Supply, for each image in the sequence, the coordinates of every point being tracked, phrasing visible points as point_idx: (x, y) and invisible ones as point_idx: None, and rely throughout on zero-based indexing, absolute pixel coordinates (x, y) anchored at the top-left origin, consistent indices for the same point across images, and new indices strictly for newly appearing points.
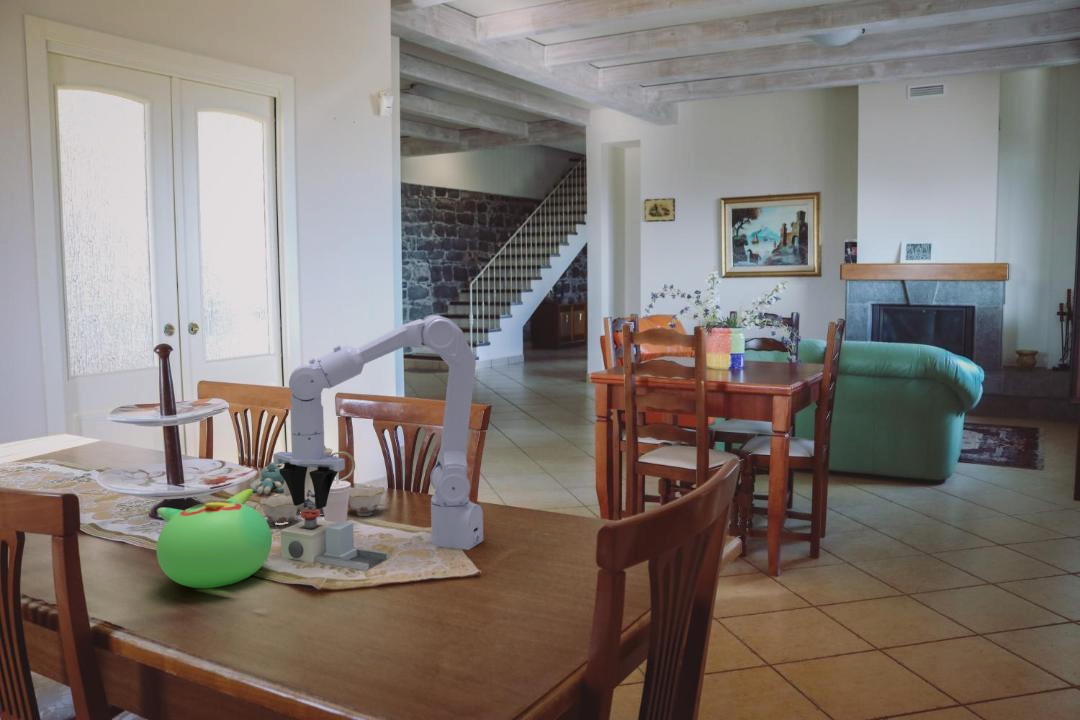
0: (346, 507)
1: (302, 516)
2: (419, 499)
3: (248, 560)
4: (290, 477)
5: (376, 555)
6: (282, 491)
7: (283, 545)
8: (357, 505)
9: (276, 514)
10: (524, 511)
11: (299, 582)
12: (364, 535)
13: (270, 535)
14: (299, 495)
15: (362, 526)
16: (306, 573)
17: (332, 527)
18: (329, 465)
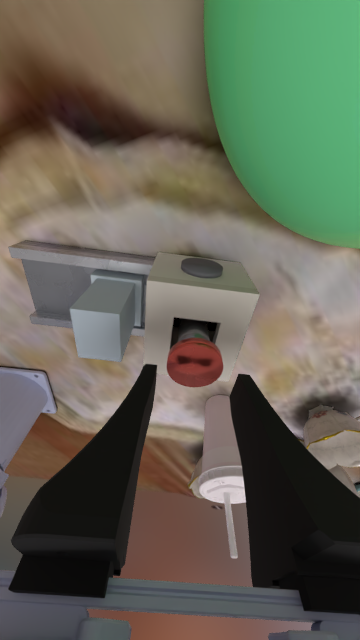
0: (203, 442)
1: (205, 341)
2: (175, 485)
3: None
4: (291, 486)
5: (56, 315)
6: (357, 485)
7: (242, 277)
8: None
9: (333, 418)
10: (43, 475)
11: (131, 155)
12: (168, 398)
13: (222, 118)
14: (241, 412)
15: (192, 422)
16: (153, 220)
17: (101, 319)
18: (8, 614)
